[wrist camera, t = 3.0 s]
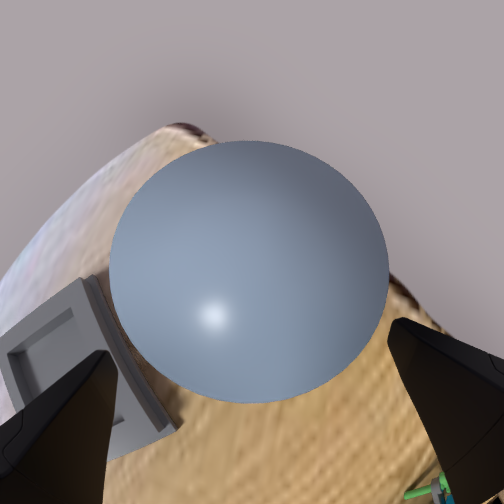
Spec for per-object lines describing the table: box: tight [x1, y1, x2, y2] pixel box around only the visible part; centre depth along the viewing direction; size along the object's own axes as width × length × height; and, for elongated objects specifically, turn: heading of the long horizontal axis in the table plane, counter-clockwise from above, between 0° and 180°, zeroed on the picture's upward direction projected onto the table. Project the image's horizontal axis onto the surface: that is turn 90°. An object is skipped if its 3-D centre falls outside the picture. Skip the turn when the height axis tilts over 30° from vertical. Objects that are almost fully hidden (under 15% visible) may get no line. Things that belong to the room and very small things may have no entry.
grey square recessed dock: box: [0, 274, 178, 462], centre depth 13 cm, size 12×12×2 cm
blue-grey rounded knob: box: [109, 141, 389, 403], centre depth 10 cm, size 5×5×13 cm
